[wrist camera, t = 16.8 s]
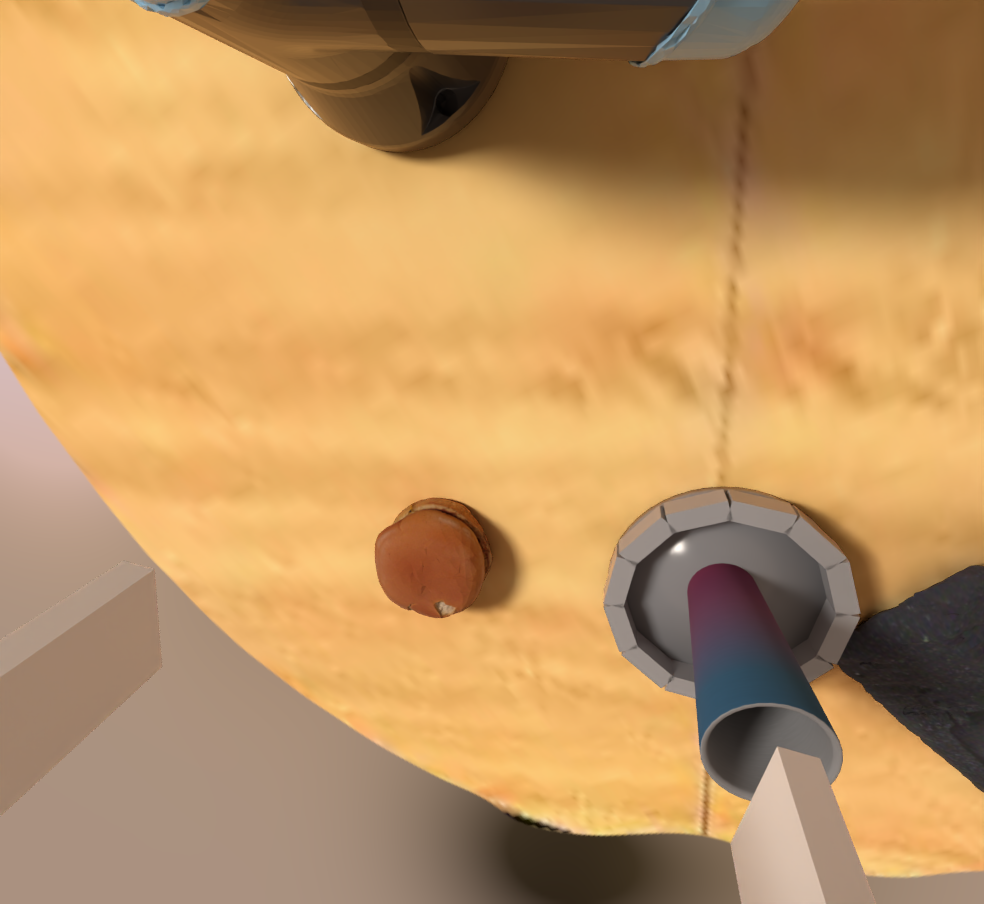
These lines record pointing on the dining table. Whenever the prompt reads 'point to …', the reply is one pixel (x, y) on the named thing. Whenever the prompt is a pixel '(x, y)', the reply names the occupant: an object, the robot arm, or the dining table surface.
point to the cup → (749, 684)
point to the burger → (433, 558)
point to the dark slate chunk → (930, 667)
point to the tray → (738, 541)
